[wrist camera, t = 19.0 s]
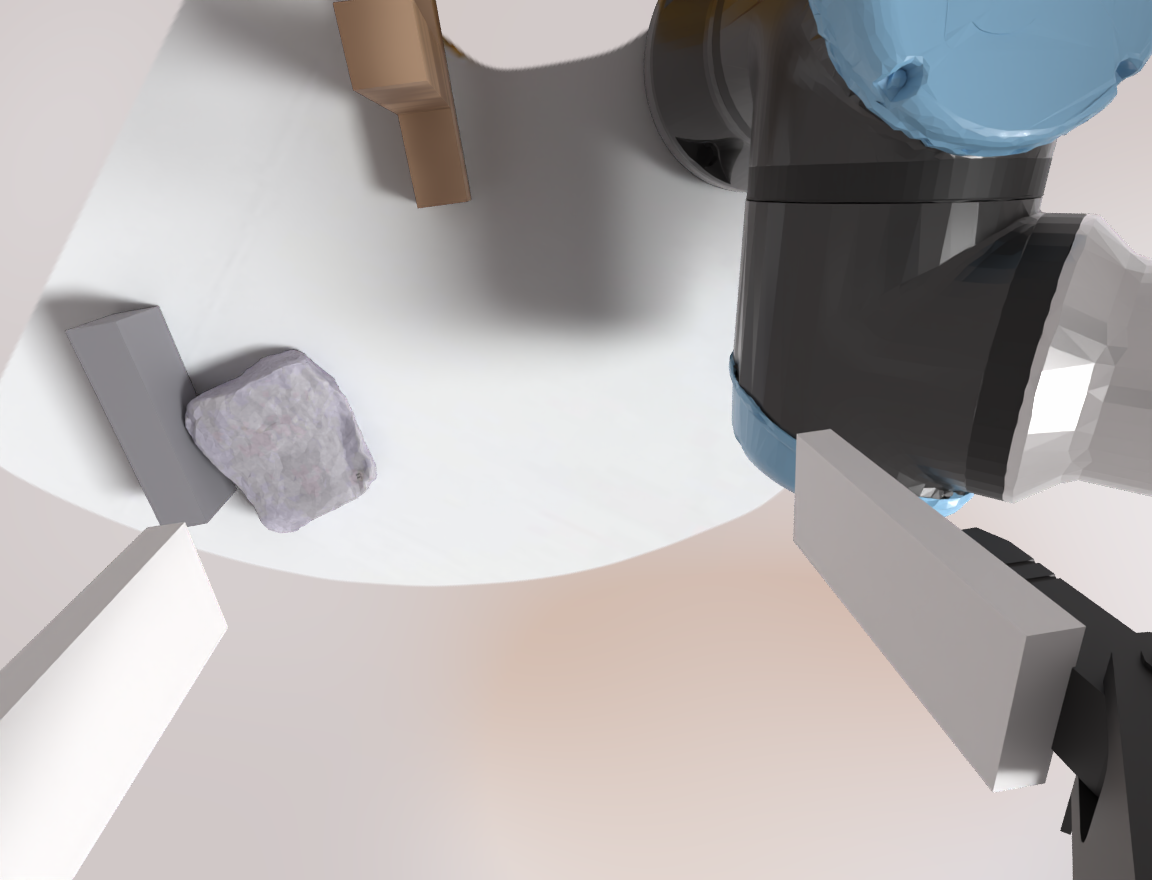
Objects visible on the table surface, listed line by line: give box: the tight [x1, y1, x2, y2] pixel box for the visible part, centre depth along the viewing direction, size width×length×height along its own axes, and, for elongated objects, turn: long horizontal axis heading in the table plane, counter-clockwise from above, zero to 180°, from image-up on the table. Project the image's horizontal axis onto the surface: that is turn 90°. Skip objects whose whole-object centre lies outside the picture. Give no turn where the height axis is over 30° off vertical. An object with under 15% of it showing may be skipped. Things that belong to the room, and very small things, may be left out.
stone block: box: [185, 349, 377, 533], centre depth 45 cm, size 12×5×10 cm
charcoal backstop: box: [65, 306, 237, 527], centre depth 42 cm, size 3×14×5 cm, turn 9°
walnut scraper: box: [333, 0, 471, 208], centre depth 32 cm, size 3×13×15 cm, turn 7°
